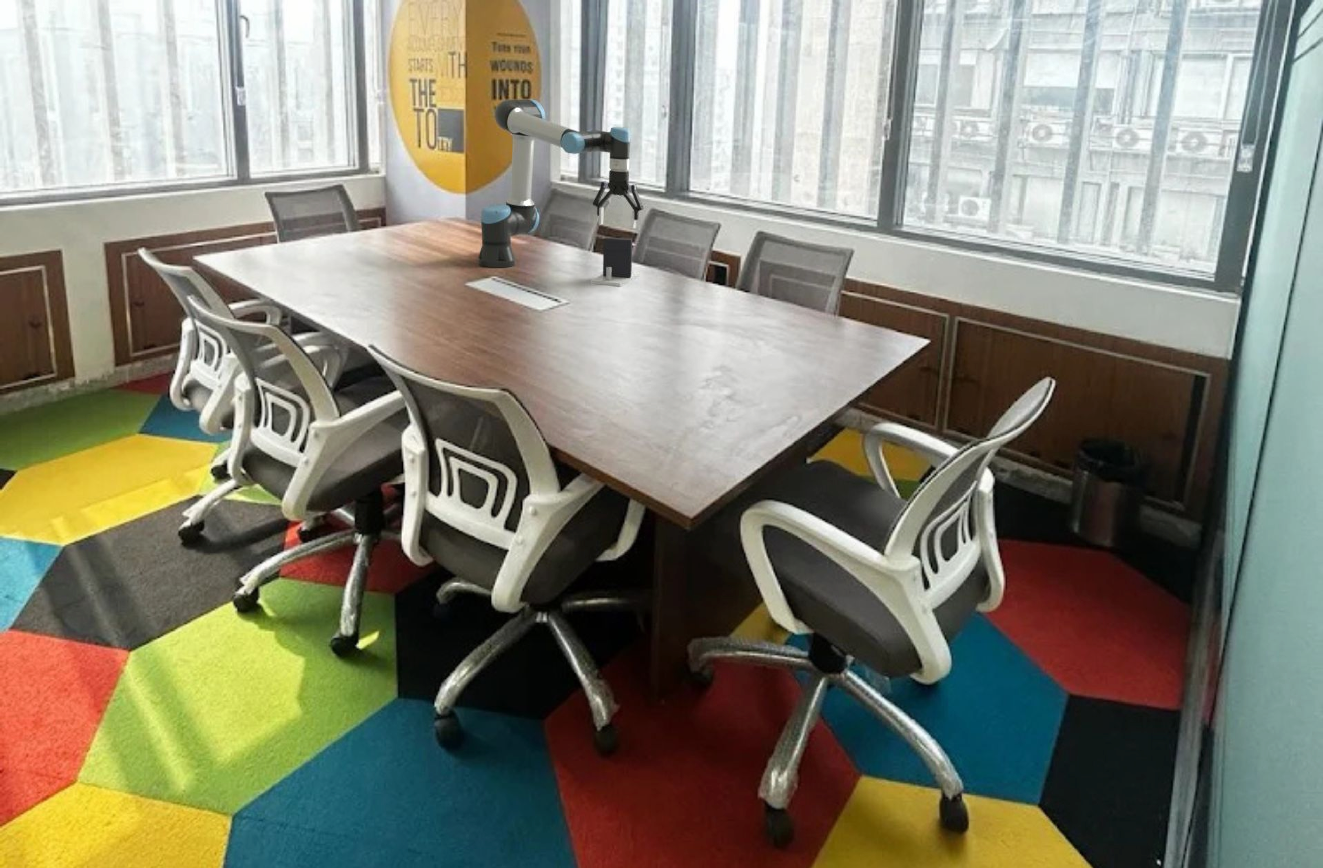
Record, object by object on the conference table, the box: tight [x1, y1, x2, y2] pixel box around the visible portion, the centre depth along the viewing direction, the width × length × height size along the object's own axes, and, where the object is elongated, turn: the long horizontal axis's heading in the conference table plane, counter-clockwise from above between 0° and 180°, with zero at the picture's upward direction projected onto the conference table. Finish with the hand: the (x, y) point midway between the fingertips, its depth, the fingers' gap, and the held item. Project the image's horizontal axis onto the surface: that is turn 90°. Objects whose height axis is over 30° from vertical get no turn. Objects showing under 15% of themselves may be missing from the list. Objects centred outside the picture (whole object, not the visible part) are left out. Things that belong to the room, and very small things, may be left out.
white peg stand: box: [590, 267, 642, 287], centre depth 378 cm, size 12×22×6 cm, turn 160°
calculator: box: [602, 236, 633, 278], centre depth 376 cm, size 11×4×15 cm, turn 84°
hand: (617, 226), depth 372 cm, fingers open, 13 cm apart
